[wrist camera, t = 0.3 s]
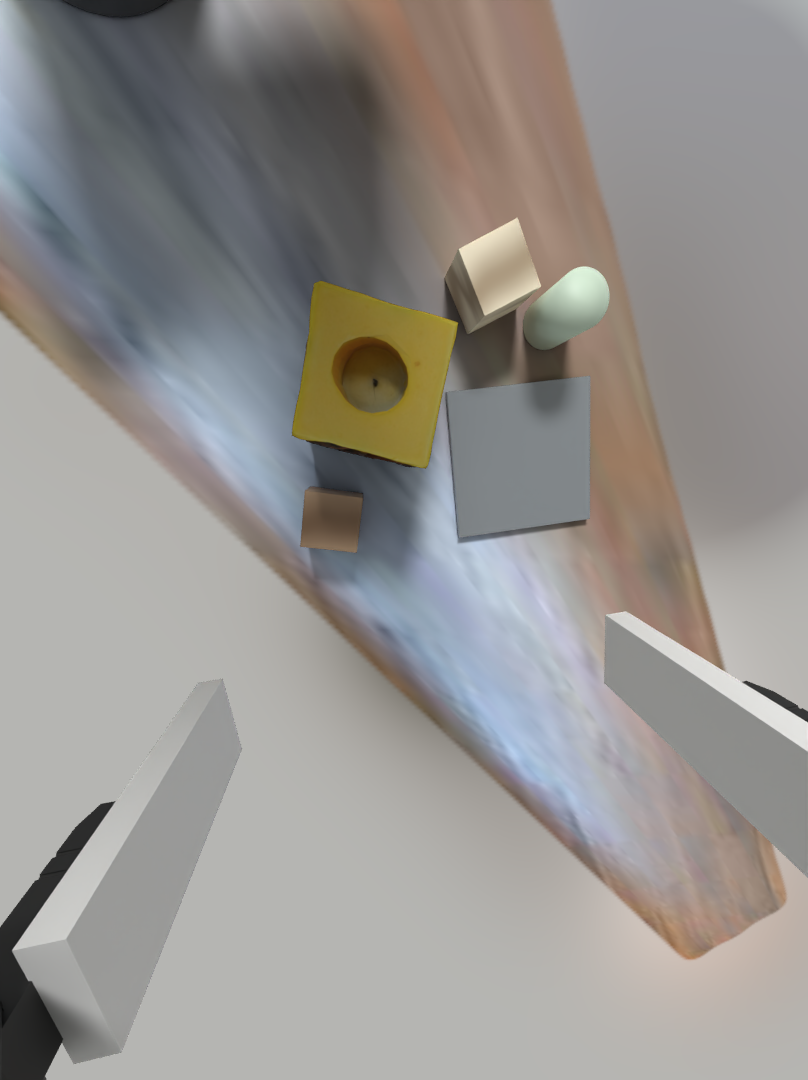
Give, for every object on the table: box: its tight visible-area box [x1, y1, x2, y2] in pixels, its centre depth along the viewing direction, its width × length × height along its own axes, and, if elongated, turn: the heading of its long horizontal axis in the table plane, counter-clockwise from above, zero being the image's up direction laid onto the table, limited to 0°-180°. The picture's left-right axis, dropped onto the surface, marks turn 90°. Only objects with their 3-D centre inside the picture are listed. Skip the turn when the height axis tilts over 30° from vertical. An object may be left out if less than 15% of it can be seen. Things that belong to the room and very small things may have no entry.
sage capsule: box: [523, 267, 609, 350], centre depth 32 cm, size 4×4×6 cm
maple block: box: [445, 218, 541, 335], centre depth 31 cm, size 5×5×5 cm
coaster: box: [446, 376, 590, 538], centre depth 37 cm, size 14×14×1 cm
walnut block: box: [300, 487, 363, 553], centre depth 35 cm, size 5×5×4 cm
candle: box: [292, 281, 458, 469], centre depth 30 cm, size 10×10×10 cm
